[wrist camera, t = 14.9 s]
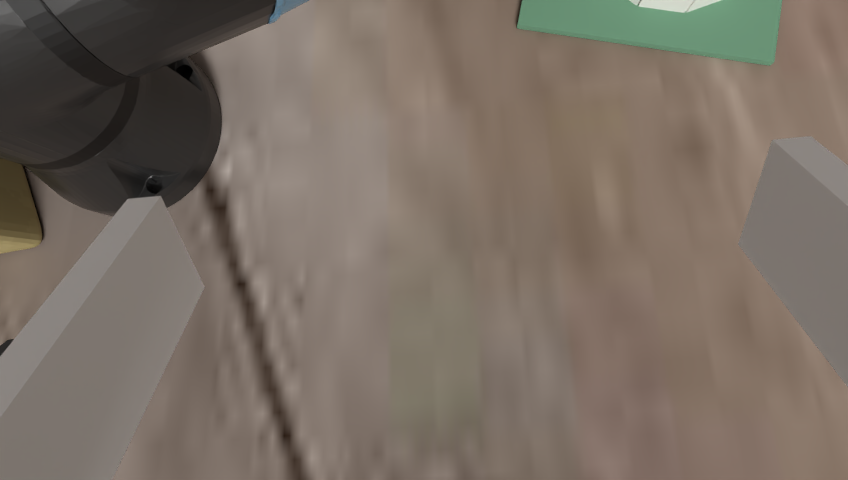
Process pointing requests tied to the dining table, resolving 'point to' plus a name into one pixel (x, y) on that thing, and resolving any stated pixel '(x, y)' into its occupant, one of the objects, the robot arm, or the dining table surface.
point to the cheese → (17, 210)
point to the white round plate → (674, 4)
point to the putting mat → (665, 26)
